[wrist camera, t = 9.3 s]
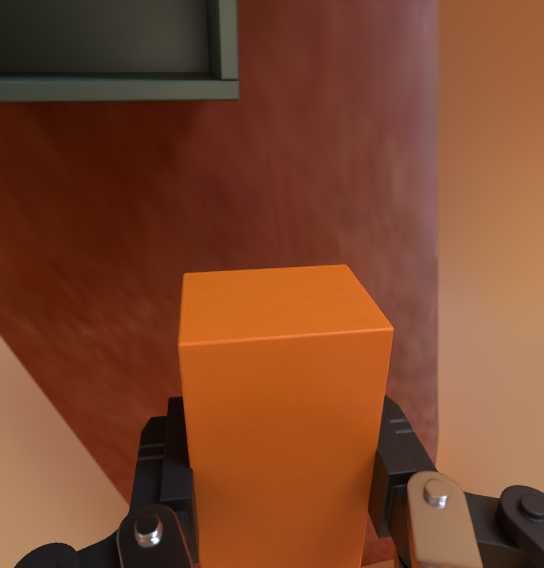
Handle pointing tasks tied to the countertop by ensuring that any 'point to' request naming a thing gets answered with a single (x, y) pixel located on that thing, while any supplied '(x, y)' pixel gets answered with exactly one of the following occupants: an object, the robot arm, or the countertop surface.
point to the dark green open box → (118, 50)
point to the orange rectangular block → (282, 413)
